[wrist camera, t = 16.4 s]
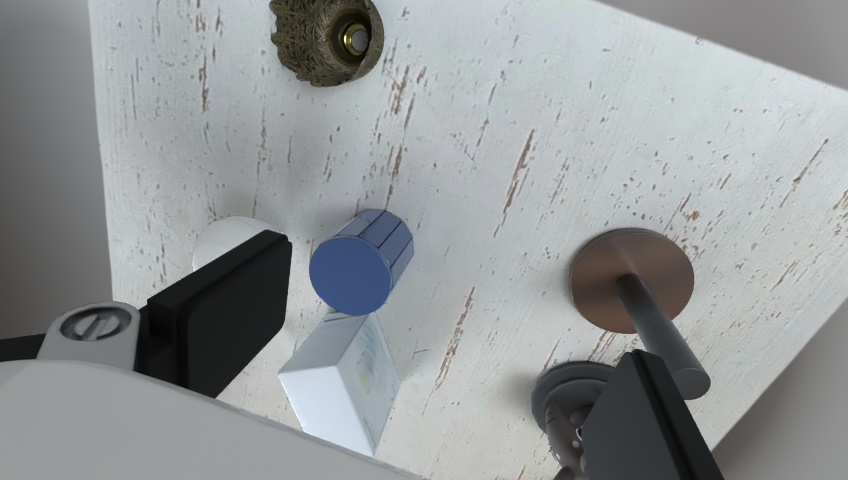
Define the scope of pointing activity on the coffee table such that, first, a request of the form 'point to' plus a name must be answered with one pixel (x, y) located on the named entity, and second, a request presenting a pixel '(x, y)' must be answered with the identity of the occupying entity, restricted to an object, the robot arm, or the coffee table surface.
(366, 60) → the cup
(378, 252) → the cup
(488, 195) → the coffee table surface
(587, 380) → the figurine
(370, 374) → the cosmetics box
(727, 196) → the coffee table surface
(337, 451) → the robot arm
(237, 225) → the spinning top
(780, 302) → the coffee table surface
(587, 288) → the towel holder
